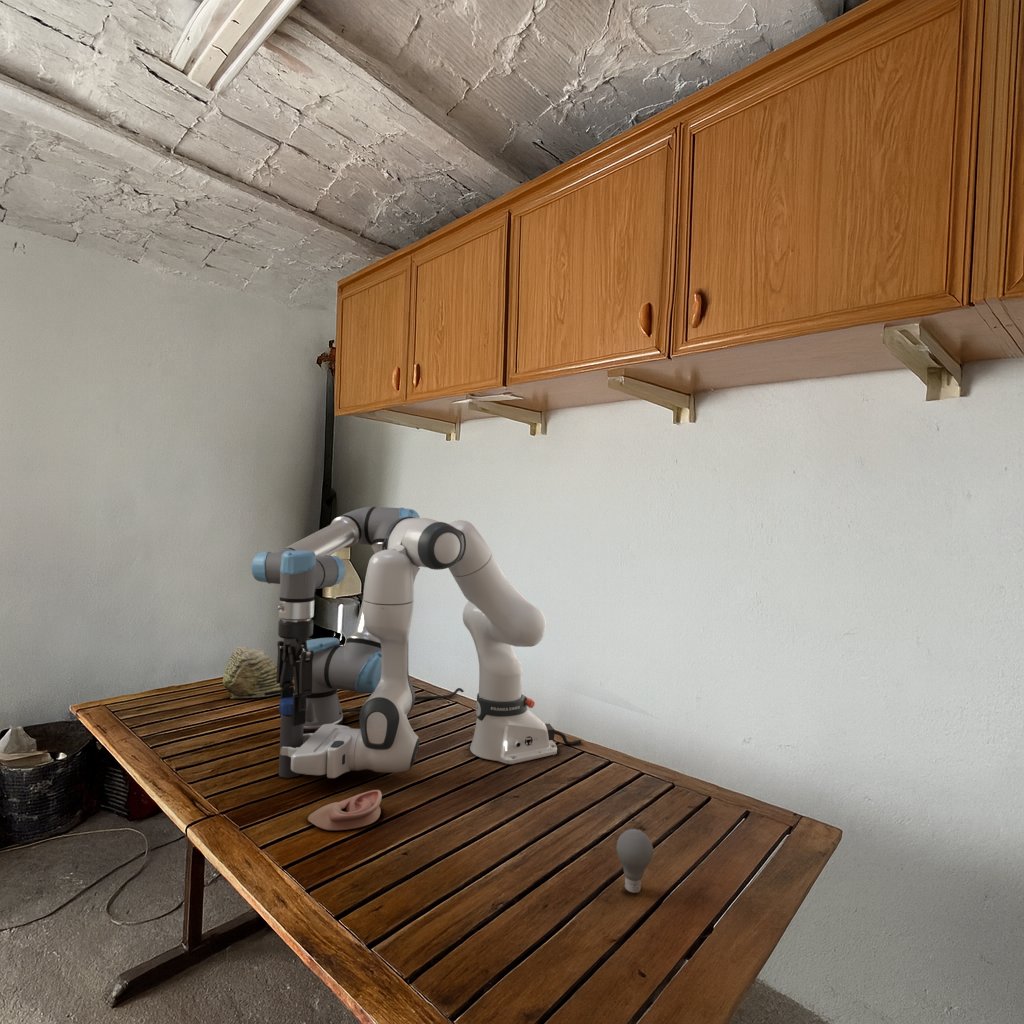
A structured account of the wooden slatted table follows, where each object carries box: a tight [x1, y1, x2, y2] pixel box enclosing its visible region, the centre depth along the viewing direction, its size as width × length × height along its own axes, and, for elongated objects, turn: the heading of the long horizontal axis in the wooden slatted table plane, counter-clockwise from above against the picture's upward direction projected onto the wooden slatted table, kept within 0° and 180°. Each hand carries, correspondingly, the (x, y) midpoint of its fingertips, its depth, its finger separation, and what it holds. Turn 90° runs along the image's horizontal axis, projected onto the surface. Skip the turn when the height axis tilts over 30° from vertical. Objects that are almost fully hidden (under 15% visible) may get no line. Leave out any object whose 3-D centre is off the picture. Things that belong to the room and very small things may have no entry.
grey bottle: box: [278, 714, 304, 779], centre depth 144 cm, size 5×5×16 cm
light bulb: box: [615, 828, 654, 894], centre depth 106 cm, size 6×6×10 cm
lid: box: [278, 696, 307, 715], centre depth 144 cm, size 6×6×2 cm
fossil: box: [222, 646, 281, 699], centre depth 198 cm, size 9×18×15 cm, turn 132°
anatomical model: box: [307, 789, 383, 831], centre depth 126 cm, size 13×4×12 cm
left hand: (292, 720), depth 144 cm, fingers closed on lid, 6 cm apart
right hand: (287, 744), depth 144 cm, fingers closed on grey bottle, 5 cm apart
